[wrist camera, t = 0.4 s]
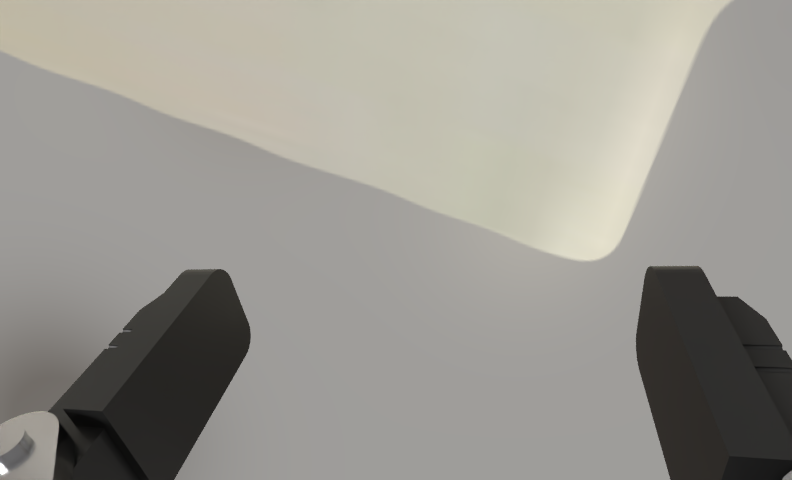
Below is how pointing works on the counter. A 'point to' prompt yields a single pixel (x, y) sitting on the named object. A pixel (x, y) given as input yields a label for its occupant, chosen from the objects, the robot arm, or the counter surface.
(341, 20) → the counter surface
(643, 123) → the counter surface
